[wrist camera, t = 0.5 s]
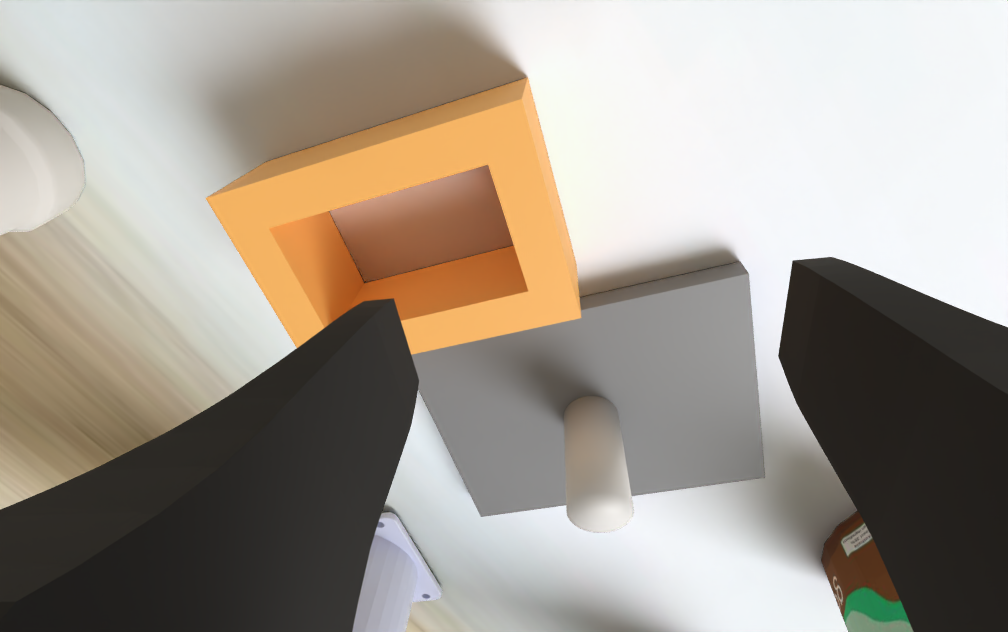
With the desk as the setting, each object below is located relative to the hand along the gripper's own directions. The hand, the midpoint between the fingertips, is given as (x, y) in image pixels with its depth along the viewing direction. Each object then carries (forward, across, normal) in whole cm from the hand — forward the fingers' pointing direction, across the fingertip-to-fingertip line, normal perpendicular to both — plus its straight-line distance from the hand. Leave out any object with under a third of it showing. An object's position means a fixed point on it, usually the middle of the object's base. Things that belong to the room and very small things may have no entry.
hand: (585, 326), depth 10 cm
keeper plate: (+10, 0, +11) cm, 15 cm away
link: (+10, +6, +1) cm, 12 cm away
